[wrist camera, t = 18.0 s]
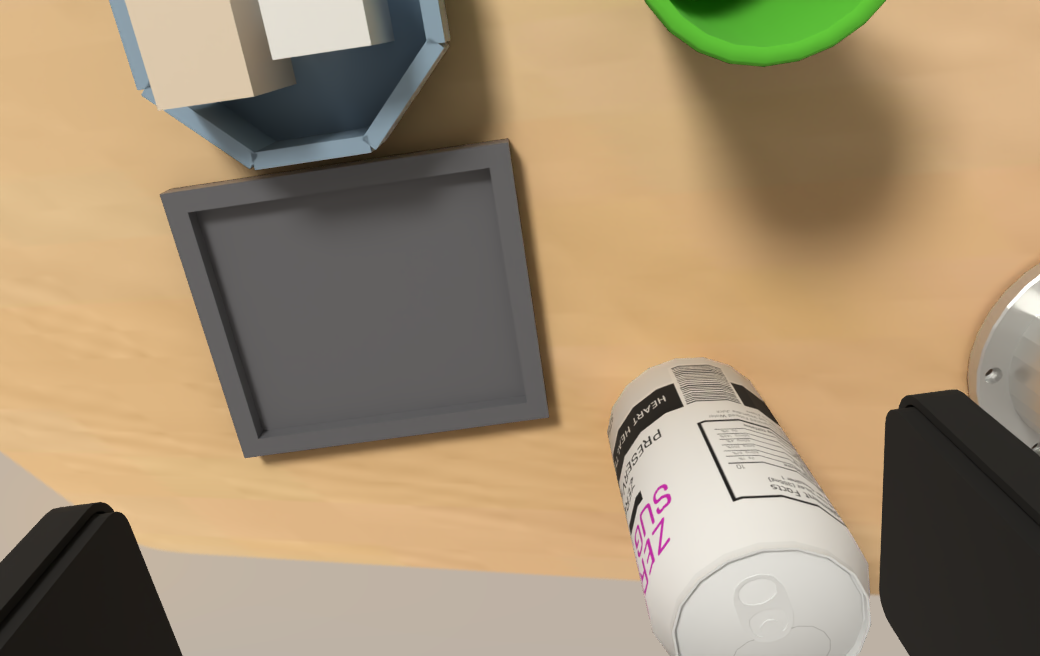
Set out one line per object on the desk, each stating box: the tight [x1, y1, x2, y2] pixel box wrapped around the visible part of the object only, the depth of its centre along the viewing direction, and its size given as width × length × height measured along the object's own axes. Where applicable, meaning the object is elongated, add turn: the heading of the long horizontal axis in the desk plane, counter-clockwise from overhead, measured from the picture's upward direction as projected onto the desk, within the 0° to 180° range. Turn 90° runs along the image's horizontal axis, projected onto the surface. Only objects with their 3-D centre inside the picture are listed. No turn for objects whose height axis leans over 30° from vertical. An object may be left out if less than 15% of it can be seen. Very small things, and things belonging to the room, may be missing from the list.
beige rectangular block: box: [125, 0, 297, 111], centre depth 30 cm, size 4×4×6 cm
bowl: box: [109, 0, 451, 170], centre depth 31 cm, size 12×12×4 cm
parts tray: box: [160, 138, 549, 458], centre depth 38 cm, size 16×14×1 cm
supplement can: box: [607, 357, 871, 656], centre depth 34 cm, size 8×8×15 cm
